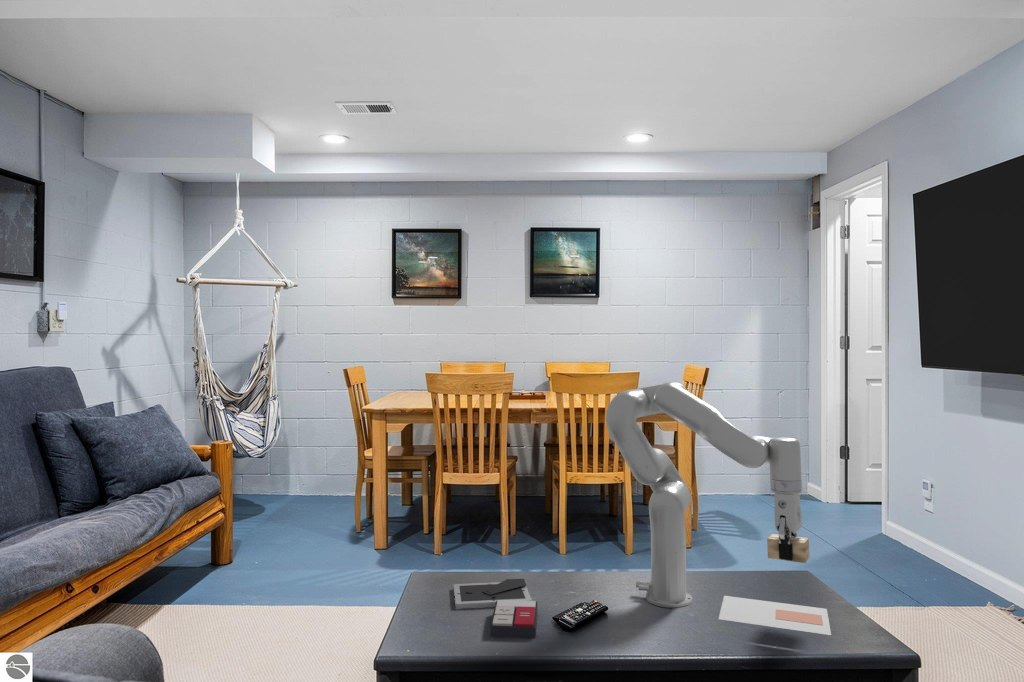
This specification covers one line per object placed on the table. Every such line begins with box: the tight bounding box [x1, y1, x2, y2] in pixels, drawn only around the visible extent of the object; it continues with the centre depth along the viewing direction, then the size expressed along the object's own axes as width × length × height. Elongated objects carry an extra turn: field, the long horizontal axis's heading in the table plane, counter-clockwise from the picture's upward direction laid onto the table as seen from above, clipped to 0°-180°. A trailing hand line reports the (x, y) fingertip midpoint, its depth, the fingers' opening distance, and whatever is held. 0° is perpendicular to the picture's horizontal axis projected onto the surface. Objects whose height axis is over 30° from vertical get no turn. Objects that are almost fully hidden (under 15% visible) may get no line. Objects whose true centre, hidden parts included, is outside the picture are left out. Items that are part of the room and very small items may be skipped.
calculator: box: [489, 600, 539, 639], centre depth 165 cm, size 11×4×15 cm
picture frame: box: [453, 578, 533, 610], centre depth 184 cm, size 16×3×21 cm
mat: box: [718, 595, 832, 636], centre depth 170 cm, size 26×18×1 cm
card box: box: [766, 533, 810, 564], centre depth 169 cm, size 9×6×5 cm, turn 56°
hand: (788, 555), depth 169 cm, fingers closed on card box, 5 cm apart
